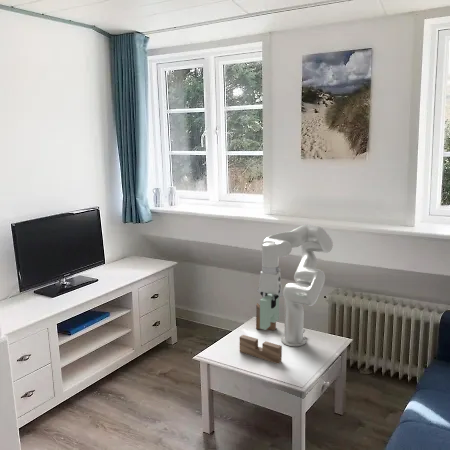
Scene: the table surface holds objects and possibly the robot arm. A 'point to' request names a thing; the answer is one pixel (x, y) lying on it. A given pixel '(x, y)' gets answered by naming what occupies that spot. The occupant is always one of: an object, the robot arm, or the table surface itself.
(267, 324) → the green slotted board
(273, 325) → the wooden block
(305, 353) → the table surface
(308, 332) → the table surface
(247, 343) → the walnut slotted plate
